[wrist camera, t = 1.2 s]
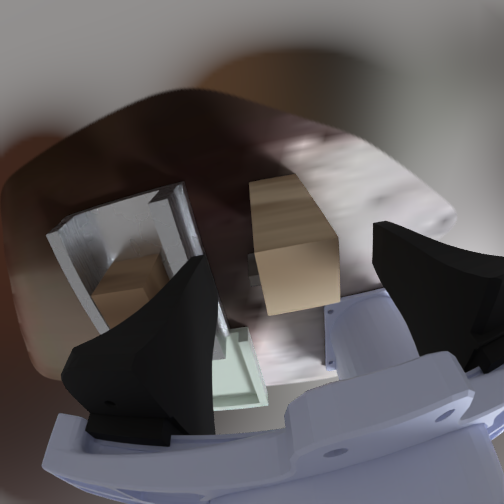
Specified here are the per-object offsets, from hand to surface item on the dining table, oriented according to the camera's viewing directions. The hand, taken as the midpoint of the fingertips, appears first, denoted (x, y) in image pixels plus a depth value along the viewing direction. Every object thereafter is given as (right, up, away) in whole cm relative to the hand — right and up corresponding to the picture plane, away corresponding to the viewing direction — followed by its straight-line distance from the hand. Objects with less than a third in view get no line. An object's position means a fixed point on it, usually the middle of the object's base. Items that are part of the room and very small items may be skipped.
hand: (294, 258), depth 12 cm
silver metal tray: (-10, -2, +9) cm, 14 cm away
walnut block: (-10, -2, +9) cm, 13 cm away
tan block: (0, +2, +7) cm, 8 cm away
